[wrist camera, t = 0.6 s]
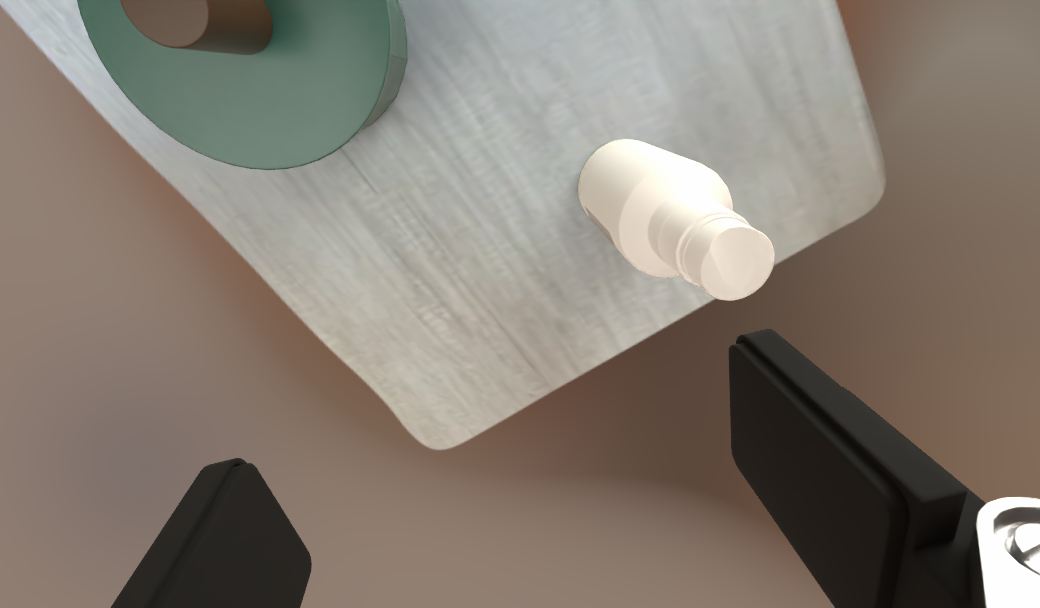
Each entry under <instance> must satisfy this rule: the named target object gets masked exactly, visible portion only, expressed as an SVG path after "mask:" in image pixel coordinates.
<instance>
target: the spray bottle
mask: <svg viewBox="0 0 1040 608" xmlns="http://www.w3.org/2000/svg"><path fill="white" fill-rule="evenodd" d="M578 192H579V200H580V203H581V205H582V207H583V209H584V212H585V213H586V214H587V215H588V216H589V217H590V219H591V220H592V221H593V222H594V223H595V224H596V225H597V226H598V228H599V229H600V230H601V231H602V232H603V233H604V234H605V235H606V237H607V238H608V239H609V240H610V241H611V242H612V243H613V245H614V246H615V247H616V248H617V249H618V250H619V251H620V252H621V254H622V255H623V256H624V257H625V258H626V259H627V260H628V261H629V262H630V263H631V264H632V265H633V266H634V267H635V268H636V269H638V270H640V271H642V272H644V273H646V274H648V275H651V276H658V277H666V278H670V277H675V276H680V275H681V276H682V277H683V278H684V279H685V280H687V281H688V282H690V283H692V284H694V285H696V286H700V287H702V288H703V289H704V290H705V291H706V292H707V293H708V294H709V295H711V296H713V297H715V298H717V299H721V300H729V301H731V300H737V299H742V298H744V297H746V296H748V295H750V294H752V293H754V292H755V291H756V290H757V289H758V288H760V287H761V286H762V285H763V284H764V282H765V281H766V279H767V278H768V277H769V275H770V273H771V270H772V268H773V265H774V255H775V253H774V250H773V246H772V243H771V241H770V240H769V239H768V238H767V236H766V235H765V234H763V233H761V232H760V231H758V230H756V229H754V228H752V227H750V225H749V224H748V223H747V221H746V220H745V219H744V217H742V216H740V215H738V214H736V213H735V212H733V203H732V200H731V197H730V193H729V190H728V187H727V186H726V185H725V183H724V182H723V181H722V179H721V178H720V177H719V176H718V174H717V173H716V172H714V171H713V170H711V169H709V168H708V167H706V166H704V165H703V164H701V163H698V162H695V161H693V160H690V159H687V158H684V157H682V156H679V155H676V154H674V153H671V152H668V151H665V150H663V149H660V148H657V147H655V146H652V145H649V144H646V143H644V142H641V141H637V140H631V139H621V140H616V141H611V142H609V143H607V144H606V145H604V146H602V147H600V148H598V149H597V150H596V151H595V152H594V153H593V154H592V155H591V156H590V157H589V158H588V160H587V162H586V163H585V165H584V167H583V169H582V171H581V174H580V178H579V183H578Z"/></svg>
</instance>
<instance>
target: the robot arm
mask: <svg viewBox="0 0 1040 608" xmlns="http://www.w3.org/2000/svg"><path fill="white" fill-rule="evenodd" d="M729 379H730V412H731V413H730V416H731V448H732V455H733V458H734V461H735V463H736V465H737V467H738V469H739V470H740V472H741V473H742V475H743V476H744V477H745V479H746V480H747V481H748V483H749V485H750V486H751V487H752V489H753V490H754V492H755V493H756V495H757V496H758V497H759V499H760V500H761V502H762V503H763V505H764V506H765V507H766V509H767V510H768V512H769V513H770V515H771V516H772V518H773V519H774V521H775V522H776V523H777V525H778V526H779V528H780V529H781V531H782V532H783V534H784V535H785V536H786V538H787V539H788V541H789V542H790V544H791V545H792V546H793V548H794V549H795V551H796V552H797V553H798V555H799V556H800V558H801V559H802V561H803V562H804V564H805V565H806V567H807V568H808V569H809V571H810V572H811V574H812V575H813V577H814V578H815V580H816V581H817V582H818V584H819V585H820V587H821V588H822V590H823V591H824V592H825V594H826V595H827V597H828V598H829V599H830V601H831V603H832V604H833V605H834V607H835V608H1040V499H1033V498H1027V497H1010V498H1000V499H998V500H995V501H992V502H989V503H987V504H986V503H985V502H984V501H983V500H981V499H980V498H979V497H978V496H977V495H975V494H974V493H973V492H972V491H970V490H969V489H968V488H967V487H966V486H964V485H963V484H962V483H961V482H960V481H958V480H957V479H956V478H955V477H953V476H952V475H951V474H950V473H949V472H947V471H946V470H945V469H944V468H943V467H941V466H940V465H939V464H938V463H936V462H935V461H934V460H933V459H932V458H930V457H929V456H928V455H927V454H926V453H924V452H923V451H922V450H921V449H919V448H918V447H917V446H916V445H915V444H913V443H912V442H911V441H910V440H909V439H907V438H906V437H905V436H904V435H902V434H901V433H900V432H899V431H898V430H896V429H895V428H894V427H893V426H891V425H890V424H889V423H888V422H887V421H885V420H884V419H883V418H882V417H880V416H879V415H878V414H877V413H876V412H875V411H873V410H872V409H871V408H870V407H868V406H867V405H866V404H865V403H864V402H862V401H861V400H860V399H859V398H858V397H856V396H855V395H854V394H853V393H851V392H850V391H848V390H847V389H845V388H844V387H841V386H840V385H839V384H838V383H836V382H835V381H834V380H833V379H832V378H830V377H829V376H828V375H827V374H825V373H824V372H823V371H822V370H821V369H820V368H818V367H817V366H816V365H815V364H813V363H812V362H811V361H810V360H809V359H808V358H806V357H805V356H804V355H803V354H801V353H800V352H799V351H798V350H797V349H795V348H794V347H793V346H792V345H791V344H789V343H788V342H787V341H786V340H785V339H783V338H782V337H781V336H779V334H777V333H776V332H775V331H773V330H772V329H764V330H760V331H756V332H753V333H748V334H744V335H740V336H739V337H738V338H737V340H736V344H735V345H732V346H731V347H730V348H729ZM311 565H312V564H311V557H310V554H309V552H308V550H307V548H306V547H305V545H304V543H303V542H302V540H301V539H300V537H299V535H298V534H297V532H296V531H295V529H294V527H293V526H292V524H291V523H290V521H289V519H288V518H287V516H286V515H285V513H284V511H283V510H282V508H281V506H280V505H279V503H278V502H277V500H276V498H275V497H274V496H273V494H272V492H271V490H270V489H269V487H268V486H267V484H266V482H265V481H264V479H263V478H262V476H261V474H260V473H259V471H258V469H257V468H256V467H255V466H254V465H253V464H251V463H246V462H245V461H244V460H243V459H241V458H235V459H231V460H227V461H223V462H219V463H214V464H211V465H208V466H206V467H204V468H203V469H202V470H201V471H200V473H199V474H198V476H197V477H196V479H195V480H194V482H193V484H192V485H191V487H190V488H189V490H188V491H187V493H186V494H185V496H184V497H183V499H182V500H181V502H180V503H179V505H178V507H177V508H176V509H175V511H174V512H173V514H172V515H171V517H170V518H169V520H168V521H167V523H166V524H165V526H164V527H163V529H162V530H161V532H160V534H159V535H158V537H157V538H156V540H155V541H154V543H153V544H152V546H151V547H150V549H149V550H148V552H147V553H146V555H145V556H144V558H143V559H142V561H141V563H140V564H139V565H138V567H137V568H136V570H135V571H134V573H133V574H132V576H131V577H130V579H129V580H128V582H127V584H126V585H125V587H124V588H123V590H122V591H121V593H120V594H119V596H118V597H117V599H116V600H115V602H114V603H113V605H112V606H111V608H300V606H301V603H302V599H303V596H304V593H305V590H306V586H307V583H308V580H309V577H310V573H311Z"/></svg>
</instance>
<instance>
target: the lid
mask: <svg viewBox="0 0 1040 608" xmlns="http://www.w3.org/2000/svg"><path fill="white" fill-rule="evenodd" d="M77 2H78V6H79V10H80V14H81V17H82V19H83V22H84V25H85V27H86V30H87V33H88V35H89V38H90V40H91V42H92V44H93V46H94V48H95V50H96V52H97V54H98V56H99V58H100V60H101V61H102V63H103V64H104V66H105V68H106V69H107V71H108V72H109V74H110V75H111V77H112V79H113V80H114V81H115V83H116V84H117V85H118V86H119V88H120V89H121V90H122V92H123V93H124V94H125V95H126V97H127V98H128V99H129V100H130V101H131V102H132V103H133V104H134V105H135V106H136V107H137V108H138V109H139V110H140V111H141V113H142V114H144V115H145V116H146V117H147V118H148V119H149V120H150V121H152V122H153V123H154V124H155V125H156V126H157V127H159V128H160V129H161V130H163V131H164V132H165V133H167V134H168V135H170V136H171V137H172V138H174V139H175V140H177V141H178V142H180V143H182V144H184V145H185V146H187V147H189V148H191V149H192V150H194V151H196V152H198V153H201V154H203V155H205V156H208V157H210V158H212V159H214V160H218V161H221V162H224V163H227V164H231V165H234V166H240V167H245V168H250V169H264V170H275V169H288V168H293V167H298V166H303V165H306V164H309V163H312V162H315V161H317V160H320V159H322V158H324V157H326V156H328V155H330V154H331V153H333V152H335V151H337V150H338V149H340V148H341V147H342V146H344V145H345V144H346V143H348V142H349V141H350V140H351V139H352V138H353V137H354V136H355V135H356V134H357V133H358V132H359V131H360V130H361V129H362V128H363V126H364V125H365V124H366V122H367V121H368V120H369V118H370V117H371V116H372V114H373V112H374V110H375V108H376V106H377V104H378V103H379V101H380V98H381V95H382V93H383V90H384V87H385V85H386V81H387V76H388V72H389V68H390V60H391V50H392V30H391V19H390V12H389V5H388V0H77Z"/></svg>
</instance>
